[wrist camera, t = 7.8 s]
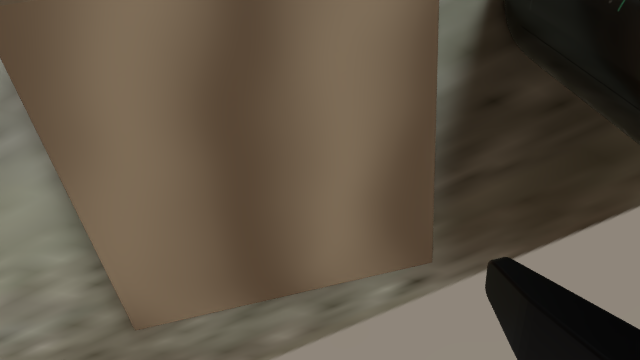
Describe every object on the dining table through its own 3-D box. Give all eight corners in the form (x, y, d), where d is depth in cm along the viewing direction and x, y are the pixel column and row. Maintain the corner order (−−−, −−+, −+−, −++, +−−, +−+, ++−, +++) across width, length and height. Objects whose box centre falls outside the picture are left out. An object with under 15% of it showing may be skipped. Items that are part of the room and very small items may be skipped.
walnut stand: (403, -72, 15) (440, -63, 13) (406, 219, 22) (432, 262, 19) (17, -14, 14) (-24, 9, 12) (143, 276, 21) (135, 330, 18)
